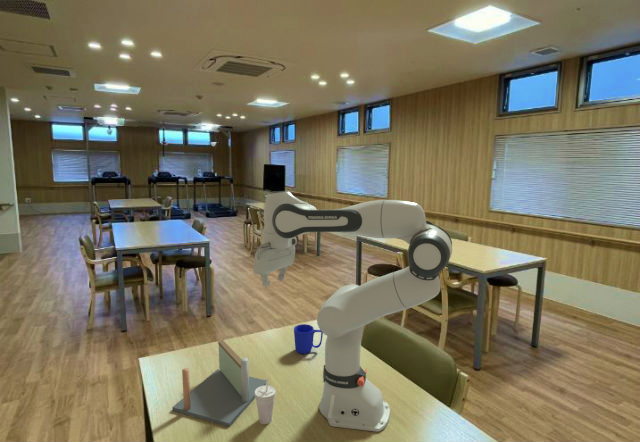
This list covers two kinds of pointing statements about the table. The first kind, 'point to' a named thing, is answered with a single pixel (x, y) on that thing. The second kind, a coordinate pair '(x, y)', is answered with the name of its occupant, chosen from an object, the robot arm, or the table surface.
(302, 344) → the mug
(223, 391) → the board
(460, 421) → the table surface
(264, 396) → the smoothie
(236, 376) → the panel
